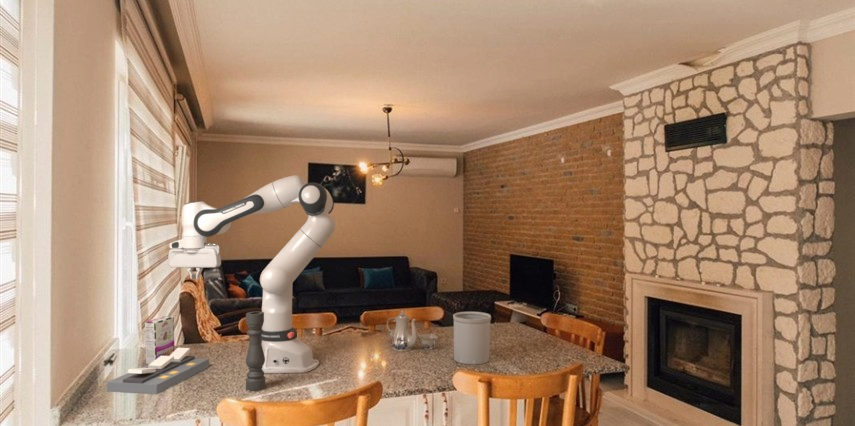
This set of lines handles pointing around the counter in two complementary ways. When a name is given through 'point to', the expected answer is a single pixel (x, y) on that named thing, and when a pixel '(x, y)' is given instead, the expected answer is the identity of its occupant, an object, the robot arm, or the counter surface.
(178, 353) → the switch
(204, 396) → the counter surface
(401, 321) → the chinaware
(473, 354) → the utensil holder
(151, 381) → the switch board
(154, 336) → the candy bar box
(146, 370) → the switch
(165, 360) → the switch
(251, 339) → the candle holder
